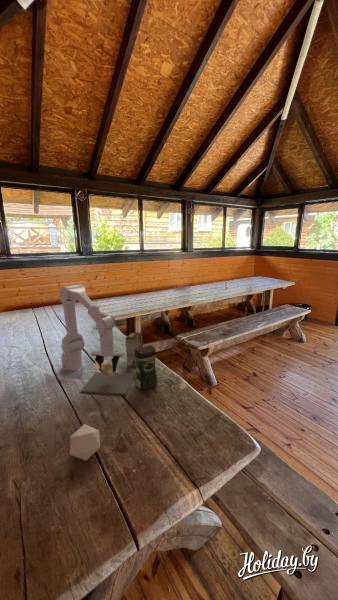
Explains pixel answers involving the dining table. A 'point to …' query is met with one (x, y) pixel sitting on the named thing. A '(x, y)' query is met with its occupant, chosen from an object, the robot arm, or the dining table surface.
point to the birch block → (107, 368)
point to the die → (84, 442)
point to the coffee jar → (145, 367)
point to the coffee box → (133, 346)
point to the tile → (96, 366)
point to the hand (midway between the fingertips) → (108, 370)
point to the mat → (108, 384)
